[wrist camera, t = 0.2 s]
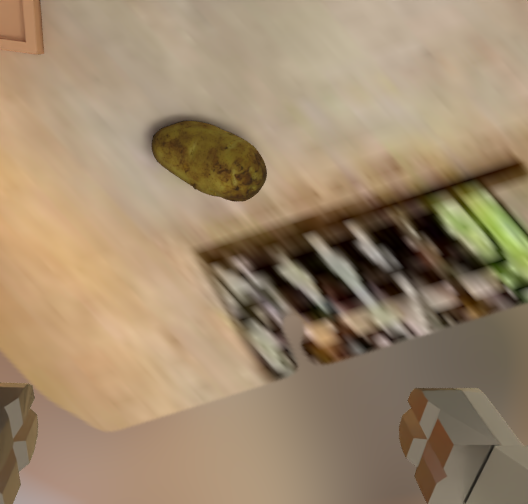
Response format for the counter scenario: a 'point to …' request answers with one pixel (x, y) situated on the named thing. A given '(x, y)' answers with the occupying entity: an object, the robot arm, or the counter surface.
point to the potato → (210, 159)
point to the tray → (21, 26)
